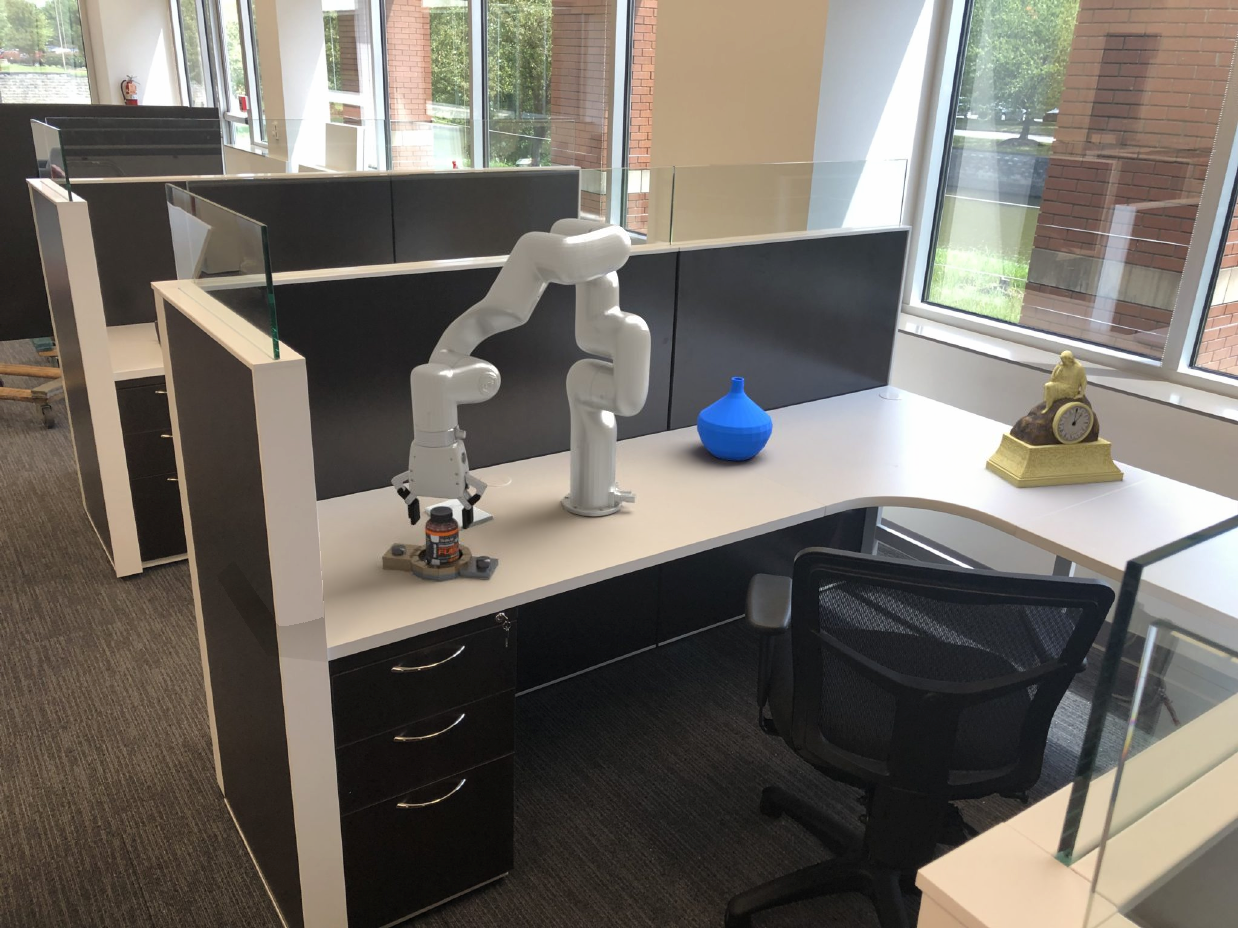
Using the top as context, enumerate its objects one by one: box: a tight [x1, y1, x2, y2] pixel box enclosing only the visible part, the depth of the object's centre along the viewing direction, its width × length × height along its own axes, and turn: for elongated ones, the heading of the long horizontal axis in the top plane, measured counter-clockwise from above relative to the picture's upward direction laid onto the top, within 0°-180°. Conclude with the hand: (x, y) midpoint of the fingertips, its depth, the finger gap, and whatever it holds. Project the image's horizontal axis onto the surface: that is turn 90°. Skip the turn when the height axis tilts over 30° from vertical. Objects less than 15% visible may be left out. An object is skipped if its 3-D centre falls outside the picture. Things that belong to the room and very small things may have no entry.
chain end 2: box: [410, 555, 499, 582], centre depth 177 cm, size 16×11×2 cm
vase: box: [696, 376, 774, 461], centre depth 235 cm, size 18×18×19 cm
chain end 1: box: [381, 542, 473, 575], centre depth 177 cm, size 16×11×3 cm
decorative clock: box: [985, 350, 1125, 489], centre depth 226 cm, size 28×13×30 cm, turn 103°
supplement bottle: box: [424, 506, 460, 565], centre depth 176 cm, size 6×6×11 cm
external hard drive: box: [424, 499, 494, 531], centre depth 199 cm, size 2×8×12 cm
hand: (441, 524), depth 175 cm, fingers open, 9 cm apart
